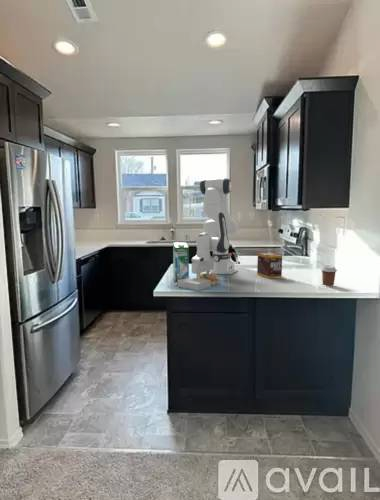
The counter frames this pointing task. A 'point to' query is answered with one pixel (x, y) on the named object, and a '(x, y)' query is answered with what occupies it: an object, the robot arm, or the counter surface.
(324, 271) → the coffee cup
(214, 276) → the salmon pink cube
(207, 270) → the robot arm
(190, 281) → the block
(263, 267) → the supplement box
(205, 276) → the beige stepped block
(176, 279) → the milk carton
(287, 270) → the counter surface
